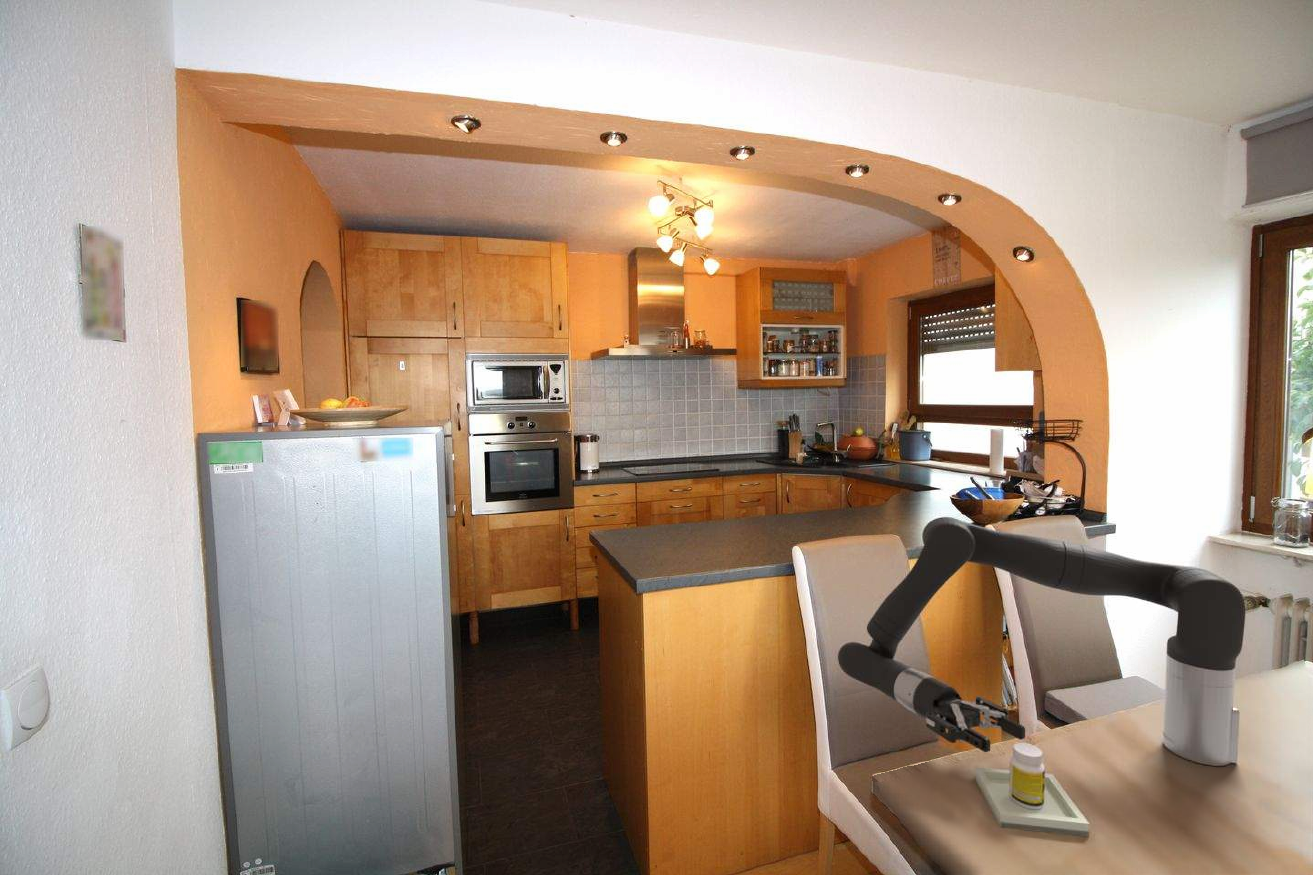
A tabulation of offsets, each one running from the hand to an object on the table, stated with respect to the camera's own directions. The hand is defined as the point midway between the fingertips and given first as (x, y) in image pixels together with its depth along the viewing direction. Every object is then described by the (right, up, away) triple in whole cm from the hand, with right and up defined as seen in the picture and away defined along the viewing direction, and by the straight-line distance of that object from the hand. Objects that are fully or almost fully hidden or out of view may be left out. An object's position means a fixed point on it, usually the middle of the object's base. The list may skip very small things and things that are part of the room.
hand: (1006, 739), depth 99 cm
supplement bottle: (+2, -8, -3) cm, 9 cm away
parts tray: (+2, -9, -3) cm, 10 cm away
